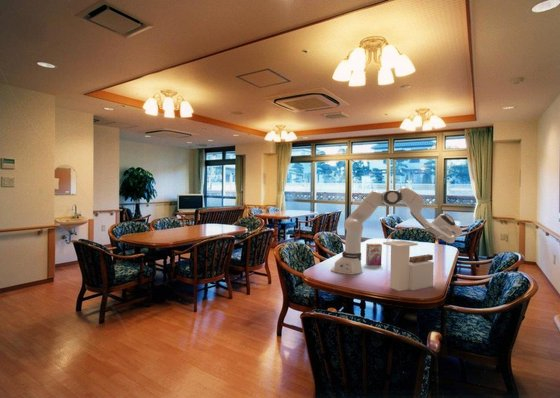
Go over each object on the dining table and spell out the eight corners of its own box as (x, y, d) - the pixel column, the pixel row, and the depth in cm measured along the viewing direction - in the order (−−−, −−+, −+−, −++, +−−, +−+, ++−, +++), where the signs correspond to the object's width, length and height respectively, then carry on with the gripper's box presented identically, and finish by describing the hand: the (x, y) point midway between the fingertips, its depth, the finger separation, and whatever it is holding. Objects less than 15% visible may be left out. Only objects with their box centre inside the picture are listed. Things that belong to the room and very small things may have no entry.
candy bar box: (367, 265, 251) (368, 244, 250) (365, 263, 256) (366, 243, 255) (381, 265, 251) (382, 244, 251) (379, 263, 256) (379, 243, 256)
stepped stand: (397, 293, 185) (398, 245, 184) (382, 287, 196) (383, 242, 194) (433, 285, 199) (434, 241, 198) (416, 280, 210) (417, 238, 209)
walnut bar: (413, 262, 197) (413, 258, 197) (409, 261, 199) (409, 257, 199) (432, 259, 205) (432, 255, 205) (428, 258, 208) (428, 254, 208)
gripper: (433, 220, 219) (420, 220, 212) (459, 236, 203) (447, 237, 196) (429, 228, 222) (416, 228, 214) (455, 244, 206) (442, 245, 199)
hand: (431, 232), depth 205 cm, fingers open, 8 cm apart
